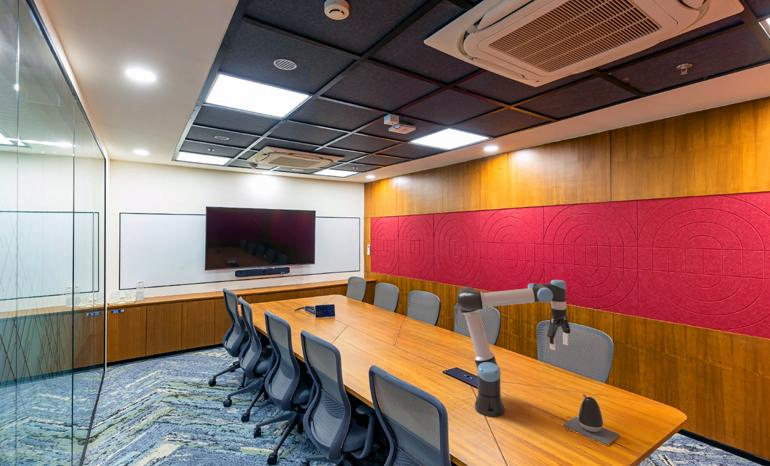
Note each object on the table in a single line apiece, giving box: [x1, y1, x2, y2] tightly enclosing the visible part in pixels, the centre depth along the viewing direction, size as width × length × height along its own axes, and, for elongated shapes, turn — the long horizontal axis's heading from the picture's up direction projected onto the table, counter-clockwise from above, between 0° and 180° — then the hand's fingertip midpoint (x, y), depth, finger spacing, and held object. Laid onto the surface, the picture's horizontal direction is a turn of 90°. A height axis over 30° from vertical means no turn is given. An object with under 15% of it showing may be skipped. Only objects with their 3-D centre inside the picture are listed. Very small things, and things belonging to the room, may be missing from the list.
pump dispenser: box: [577, 393, 604, 432], centre depth 167 cm, size 10×10×15 cm
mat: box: [562, 416, 621, 446], centre depth 167 cm, size 13×20×1 cm, turn 36°
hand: (559, 347), depth 194 cm, fingers open, 13 cm apart
